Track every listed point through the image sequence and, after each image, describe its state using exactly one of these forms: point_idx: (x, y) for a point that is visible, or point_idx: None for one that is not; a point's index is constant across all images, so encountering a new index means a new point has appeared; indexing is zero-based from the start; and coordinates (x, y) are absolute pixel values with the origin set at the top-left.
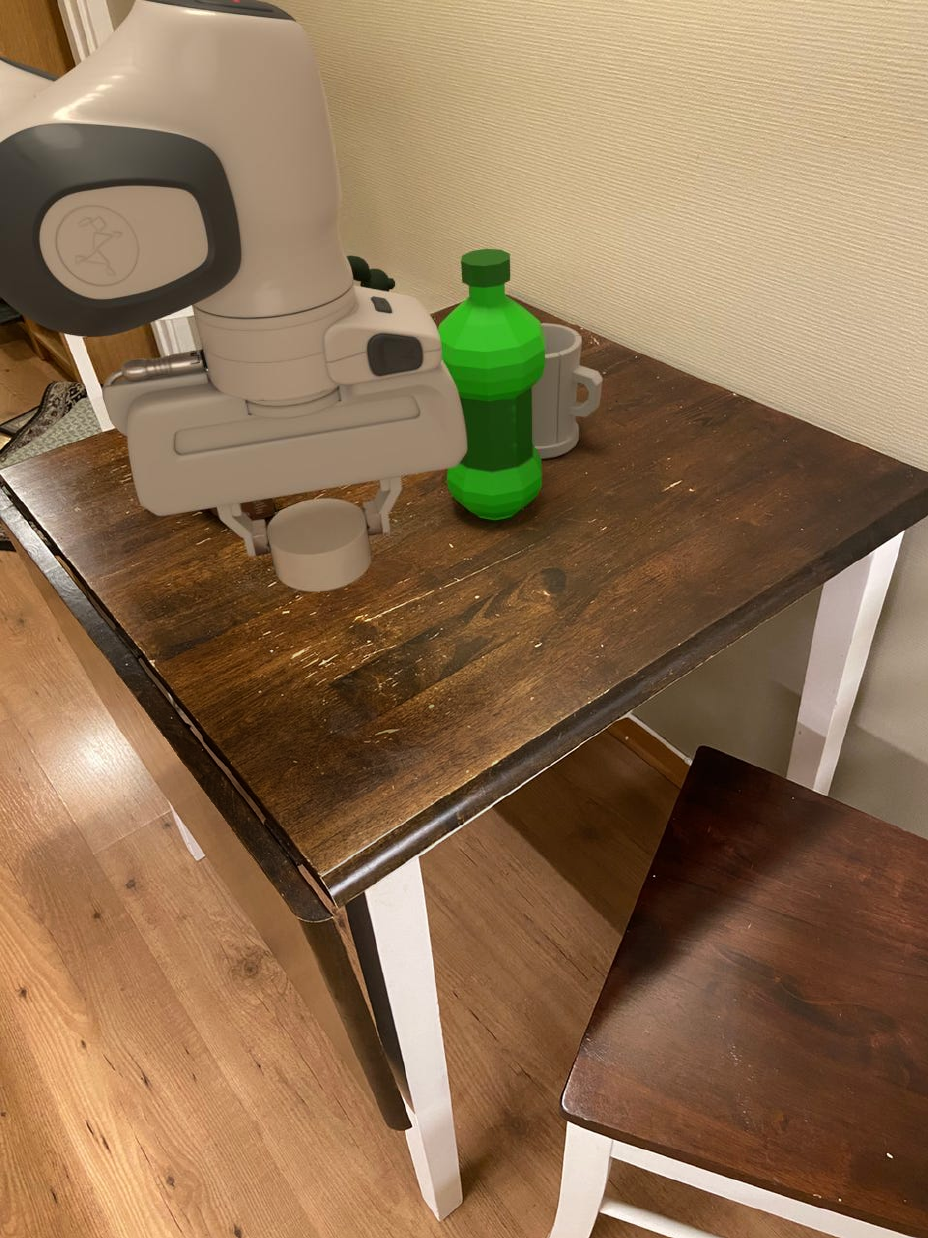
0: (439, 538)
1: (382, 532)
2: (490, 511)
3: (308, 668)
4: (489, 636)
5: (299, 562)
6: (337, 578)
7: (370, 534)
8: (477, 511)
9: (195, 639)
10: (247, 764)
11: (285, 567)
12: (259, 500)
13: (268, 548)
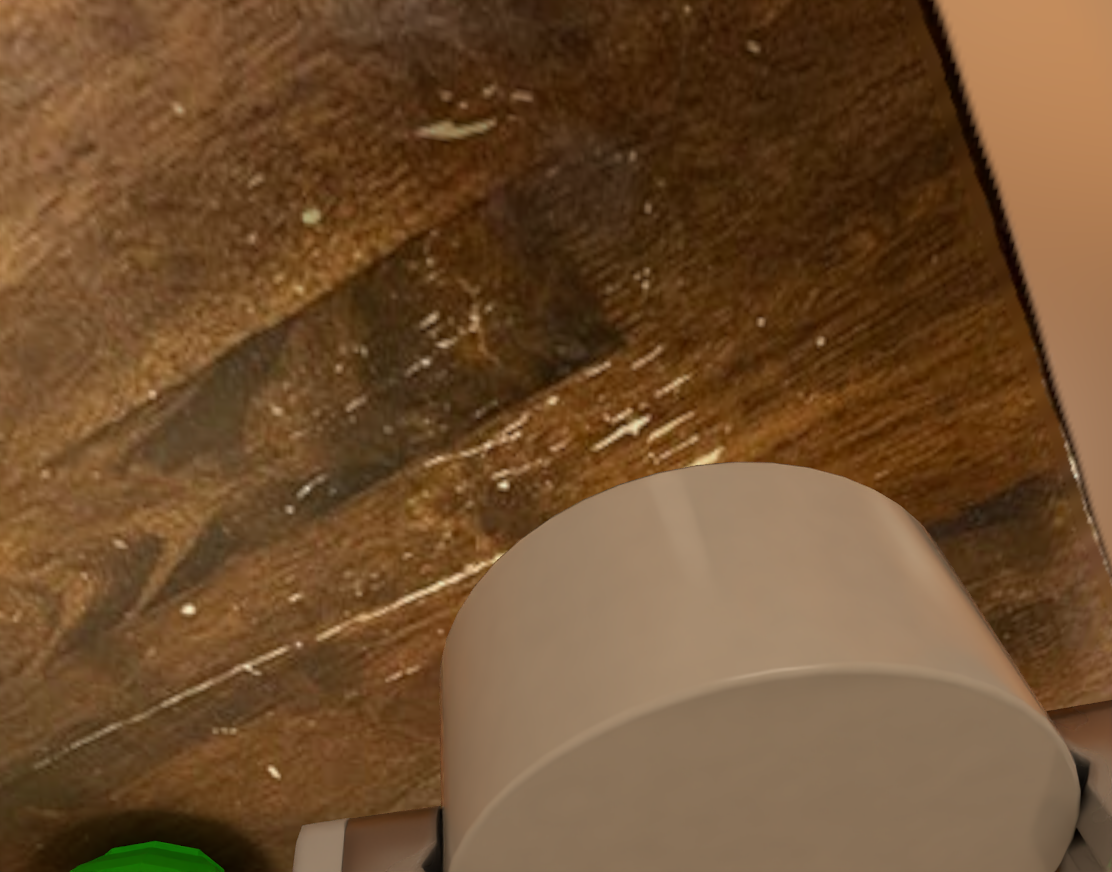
0: (307, 794)
1: (348, 825)
2: (149, 868)
3: (679, 408)
4: (138, 469)
5: (915, 624)
6: (648, 523)
7: (426, 814)
8: (192, 868)
9: (955, 533)
10: (896, 61)
11: (972, 609)
12: None
13: (1066, 741)
